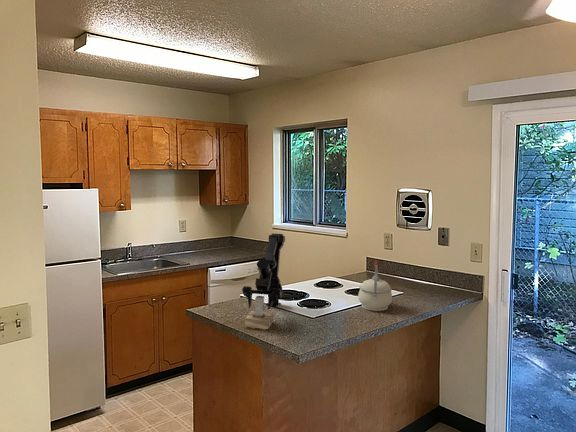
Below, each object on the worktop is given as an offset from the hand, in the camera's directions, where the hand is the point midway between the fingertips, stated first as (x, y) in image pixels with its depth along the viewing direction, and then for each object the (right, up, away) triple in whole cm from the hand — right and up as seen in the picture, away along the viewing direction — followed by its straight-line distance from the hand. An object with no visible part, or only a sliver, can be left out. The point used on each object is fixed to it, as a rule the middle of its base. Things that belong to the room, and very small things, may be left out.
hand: (258, 308), depth 222 cm
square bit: (0, -8, +2) cm, 8 cm away
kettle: (+62, -6, +37) cm, 72 cm away
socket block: (0, -8, +2) cm, 9 cm away
